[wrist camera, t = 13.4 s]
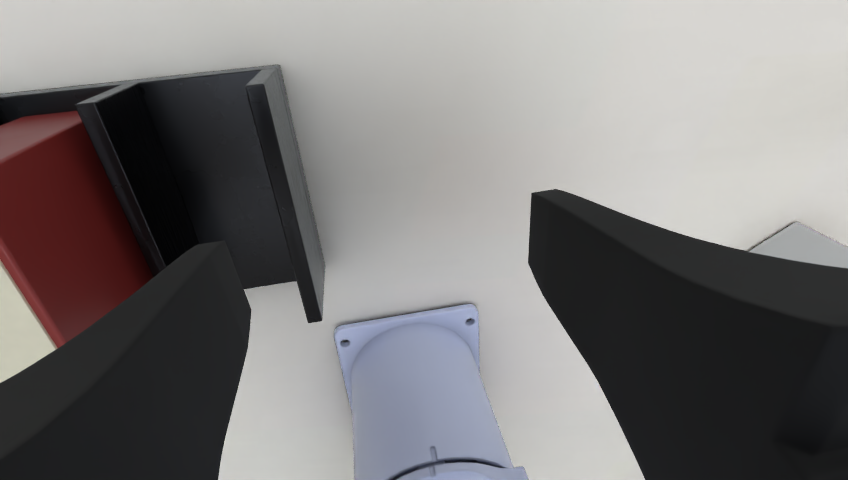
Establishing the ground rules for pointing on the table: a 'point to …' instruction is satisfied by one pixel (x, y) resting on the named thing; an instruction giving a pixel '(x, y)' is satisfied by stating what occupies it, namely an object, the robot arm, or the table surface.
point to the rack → (202, 168)
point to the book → (58, 239)
